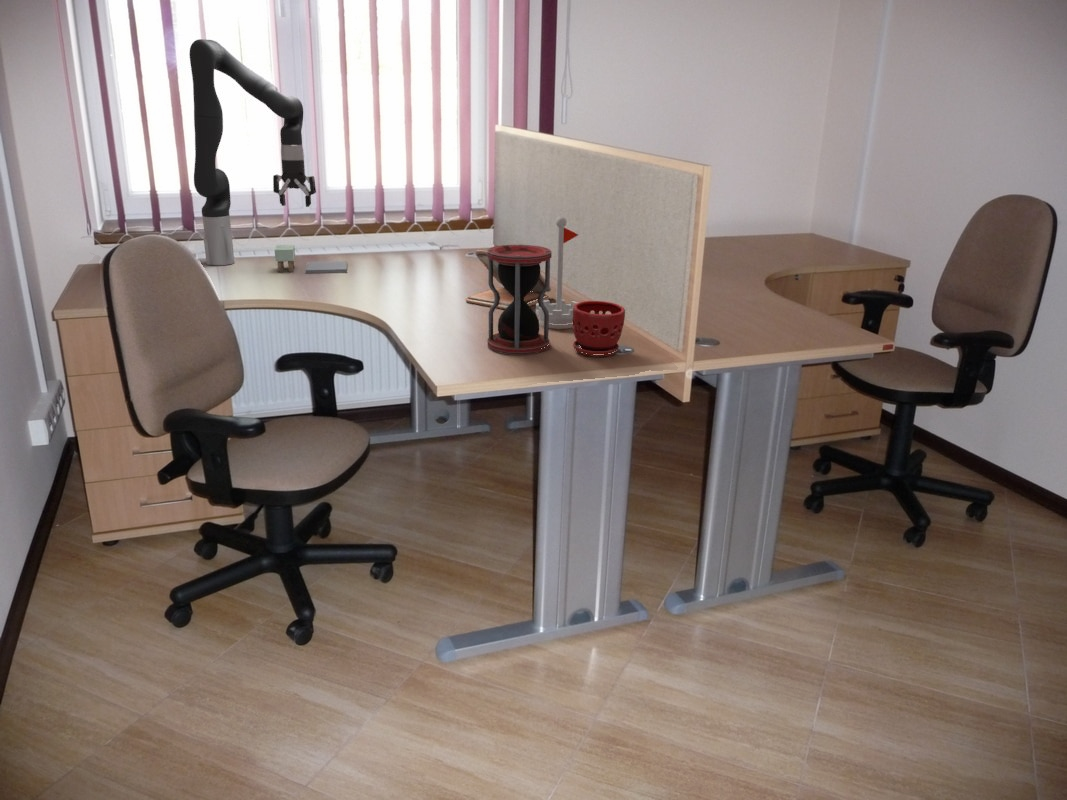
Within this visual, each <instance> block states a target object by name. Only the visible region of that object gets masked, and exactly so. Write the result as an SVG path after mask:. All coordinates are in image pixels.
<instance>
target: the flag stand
mask: <svg viewBox="0 0 1067 800" xmlns="http://www.w3.org/2000/svg"><path fill="white" fill-rule="evenodd" d="M555 224H556V226H557V231H558V233H557V259H556V260H557V263H556V265H557V266H556V268H557V269H556V297H555V298H556V301H555V303H553V302H552V303H551V301H550V299H548V300H544V301H543V302H544V306H545V307H546V308H547V310H548V313H549V323H553V324H567V323H572V322H573V306H574V305H575V304H577V303H579V302H578V301H574V300H571V301H570V303H566V299H563V268H564V244H565V243H567V242H569V241H571V240H572V239H574V238H576V237H578V236H579V233H576V232H574V231H572V230H570V229H568V228H566V226H567V224H568V223H567V219H566V218H565V217H564V216H558V217H557V218H556V220H555ZM535 313H536V315H537V317H538V320H539V319H540V320H541V321H543V322H544V312H543V310H542V309H541V307H540V306H539V303H537V304H535ZM540 320H539V326H542V327H544V323H543V322H541V321H540ZM571 328H572V329H573V324H568V325H552V324H549V329H555V330H556V329H558V330H559V329H560V330H561V329H562V330H563V329H571Z"/></svg>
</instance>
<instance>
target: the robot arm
mask: <svg viewBox="0 0 1067 800" xmlns="http://www.w3.org/2000/svg"><path fill="white" fill-rule="evenodd" d="M189 63H190V70H191V71H190V72H191V77H192V85H193V87H192V88H193V90H192V92H193V93H192V95H193V125H194V126H193V127H194V147H195V149H194V150H195V156H194V167H193V168H194V169H193V170H194V172H193V185H194V188H195V189H194V190H196V192H197V193H198V194H199V196H201V197H203V198H205V203H204V205H203V206H202V208H201V215H202V224H203V234H204V238H203V245H204V250H205V251H204V252H205V260H206V262H205V263H206V265H207V266H228V265H232V264H235V254H234V243H233V234H232V233H233V232H232V227H231V225H232V224H231V217H230V209H231V203H232V202H231V187H230V181H229V178H228V175H227V174H226V172H225V171H224V170H222V169H220V168H217V167H216V166H217V165H216V160H217V159H216V158H217V157H216V156H217V152H218V149H219V148H220V143H221V140H222V137H223V131H224V119H223V118H224V117H223V115H224V114H223V108H222V105H221V102H220V99H219V97H218V95H217V92H216V87H215V70H216V71H219V72H220V73H223V74H225V76H226V75H227V76H228V77H230V78H231V79H232V80H234V81H235V82H236V84H237V85H239V86H240V87H241V88H242V89H243V90H244V91H245V92H247V94H249V95H251V96H252V97H254V98H255V99H256V100H258V101H259V102H261V103H262V104H264V105H266V106H267V108H268V109H269V110H270V111H272V112H273V113H274V114H275V115H277V116H278V117H280V118H281V119H283V126H282V127H281V128H280V133H279V134H280V160H281V171H282V172H281V173H282V174H281V175H280V174H274V175H273V177H272V179H273V182H272V183H273V184H272V185H273V187H272V188H273V193H275V194H278V196H279V204H280V205H281V206H282V207H285V206H286V194H285V193H286V191H287V190H288V189H297V190H299V189H300V190H301V191H302V193H303V194H304V195H305V197H304V198H305V207H306V208H309V207H310V206H311V205H312V198H311V196H312V195H315V194H316V193H317V189H316V180H315V176H314V175H311V176H306V173H305V172H306V171H305V154H304V148H303V134H302V129H303V121H304V106H303V103H302V101H301V100H300V99H299V98H298V97H296V96H286V95H285V94H283V93H281V91H279V90H278V87H276V86H275V85H274V84H273V83H271V82H270V81H268V80H267V79H266V78H264V77H262V76H261V75H259V74H258V73H256V72H255V71H253V70H252V69H250V68H249V67H247V66H246V65H245V64H243V62H241V61H240V60H238V59H237V58H236V57H235V56H234V55H233V54H231V53H230V52H229V51H228V50H227V49H226V48H225V47H224V46H223V45H221V43H219V42H218V41H217V40H212V39H204V38H203V39H200V38H199V39H196V40H194V41H193V42H192V44H190V48H189ZM281 180H282V182H283V185H282V186H281V188H280V182H281ZM306 181H307V183H309V188H308V186H307V185H306Z"/></svg>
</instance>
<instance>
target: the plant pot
mask: <svg viewBox="0 0 1067 800" xmlns="http://www.w3.org/2000/svg"><path fill="white" fill-rule="evenodd" d="M592 312H594V313H592ZM600 312H601V313H600ZM606 312H610V314H609V313H608V314H607V313H606ZM625 317H626V309H625V307H623V306H622V305H620V304H618V303H614V302H611V301H605V300H604V301H602V300H585V301H580V302H578V303H577V304H575V305H574V306H573V327H572V331H573V335H574V338H575V340H574V341H573V345H572V347H573V349H574V350H575V349H576V350H575V351H576V352H577V353H579V354H580V355H584V356H588V357H595V358H599V357H600V358H603V357H608V356H611V355H614V354H616V353H617V352H618V350H619V349H618V348H620V346H619V344H618V342H619V340H620V338H621V336H622V333H623V328H624V324H625ZM579 345H580V346H581V348H582V349H581V348H579V347H580V346H579ZM617 349H618V350H617ZM616 350H617V351H616ZM614 351H616V352H614ZM581 352H583V353H581ZM612 352H614V353H612ZM586 353H587V354H586ZM608 353H611V354H608ZM593 354H604V355H593Z"/></svg>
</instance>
